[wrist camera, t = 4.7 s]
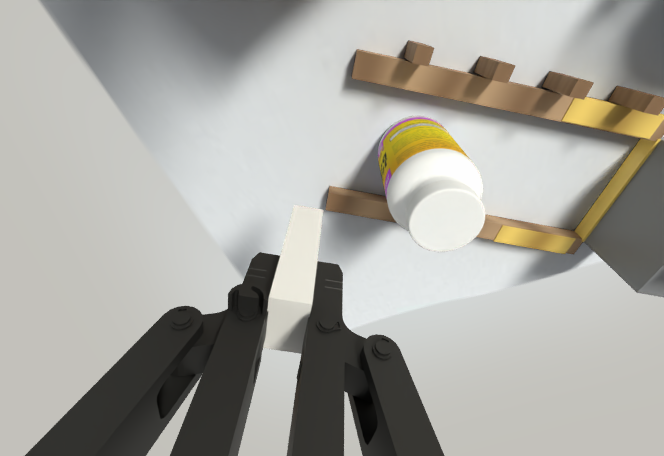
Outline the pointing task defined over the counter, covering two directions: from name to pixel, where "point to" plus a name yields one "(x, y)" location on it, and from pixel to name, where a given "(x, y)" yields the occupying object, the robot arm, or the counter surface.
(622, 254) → the grey carton
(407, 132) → the supplement bottle
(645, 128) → the wooden rack
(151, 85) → the counter surface
